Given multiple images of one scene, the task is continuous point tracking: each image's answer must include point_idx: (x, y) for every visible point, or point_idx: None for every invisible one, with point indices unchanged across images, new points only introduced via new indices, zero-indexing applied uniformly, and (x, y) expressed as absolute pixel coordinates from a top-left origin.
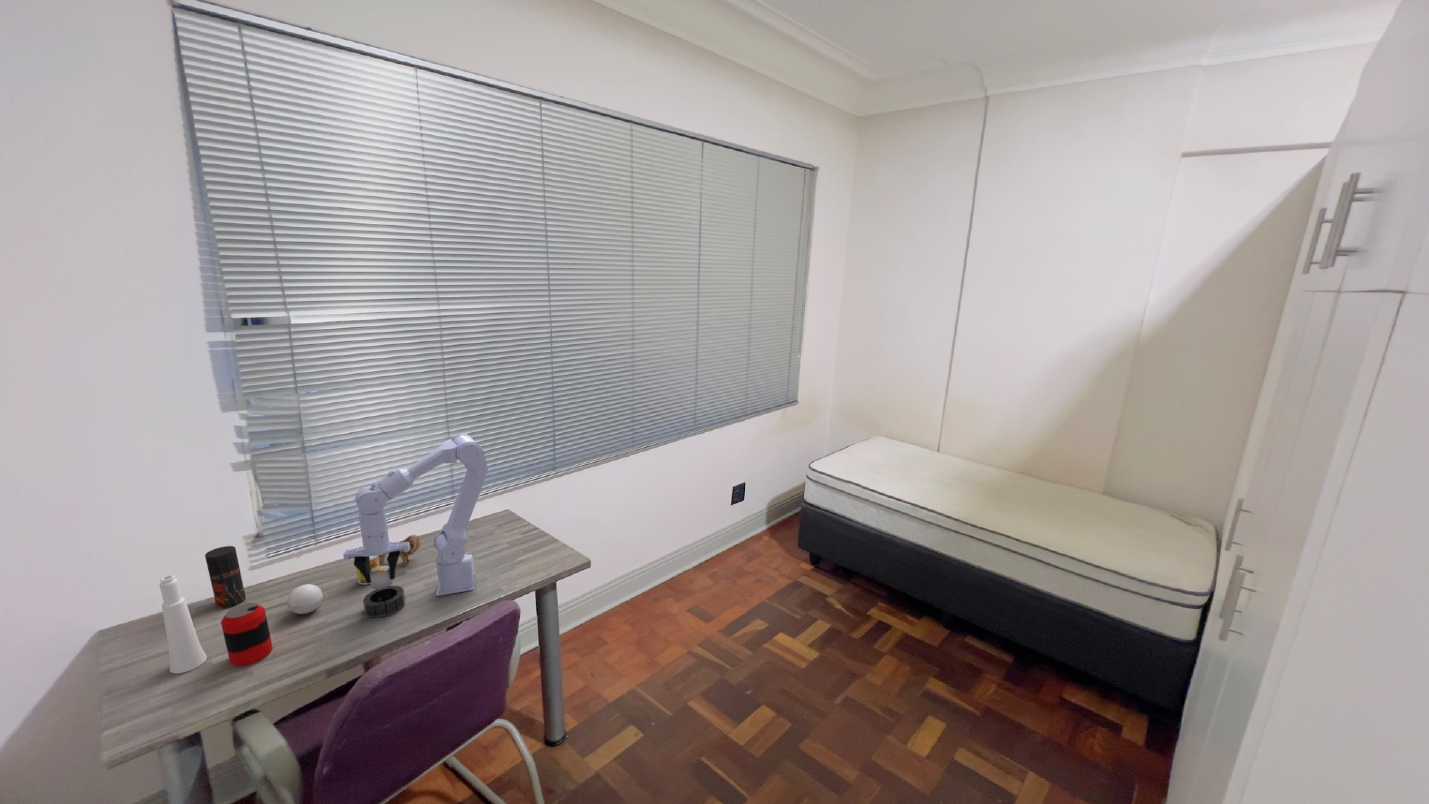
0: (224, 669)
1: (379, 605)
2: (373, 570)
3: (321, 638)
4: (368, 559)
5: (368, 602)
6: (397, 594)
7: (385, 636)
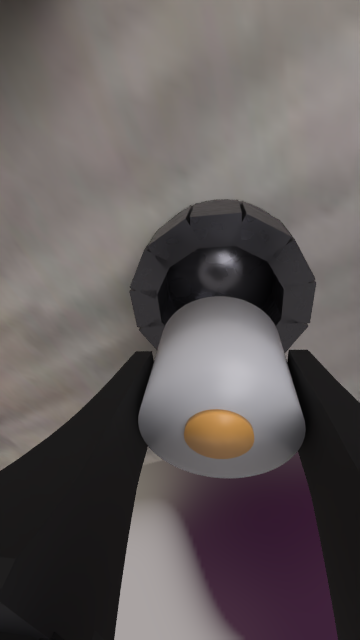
0: None
1: None
2: (159, 416)
3: (80, 384)
4: (82, 524)
5: None
6: (285, 315)
7: None
